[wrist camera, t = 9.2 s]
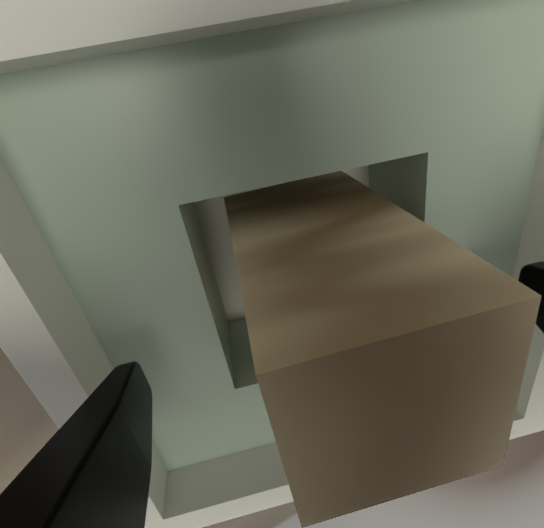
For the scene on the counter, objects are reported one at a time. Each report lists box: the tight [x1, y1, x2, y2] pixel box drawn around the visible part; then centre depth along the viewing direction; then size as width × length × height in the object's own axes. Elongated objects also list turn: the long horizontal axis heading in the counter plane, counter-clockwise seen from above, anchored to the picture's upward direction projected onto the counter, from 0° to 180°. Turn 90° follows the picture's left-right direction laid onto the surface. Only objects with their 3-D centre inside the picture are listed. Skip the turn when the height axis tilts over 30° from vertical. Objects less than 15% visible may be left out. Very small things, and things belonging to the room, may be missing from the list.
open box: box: [0, 0, 544, 528], centre depth 11 cm, size 14×14×6 cm
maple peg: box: [224, 171, 542, 528], centre depth 9 cm, size 4×4×8 cm
